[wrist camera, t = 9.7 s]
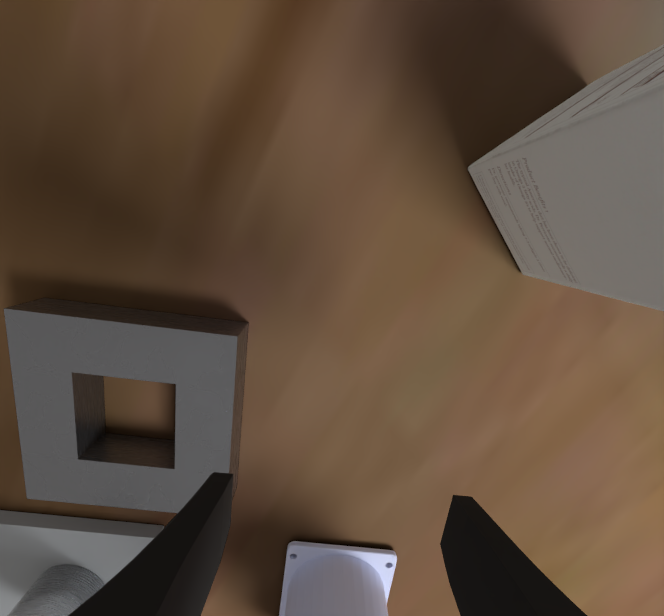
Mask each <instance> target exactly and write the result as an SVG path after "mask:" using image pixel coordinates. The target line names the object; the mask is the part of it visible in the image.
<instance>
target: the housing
mask: <svg viewBox="0 0 664 616" xmlns="http://www.w3.org/2000/svg"><path fill="white" fill-rule="evenodd" d="M4 314H5V322H6V330H7V338H8V347H9V355H10V363H11V371H12V379H13V388H14V396H15V404H16V412H17V420H18V429H19V437H20V445H21V453H22V462H23V470H24V478H25V486H26V494H27V499H36V500H46V501H57V502H67V503H78V504H88V505H98V506H109V507H119V508H130V509H140V510H151V511H161V512H171V513H178V512H179V511H180V510H181V509H182V508H183V507H184V506H185V505H186V504H187V502H188V501H189V500H190V499H191V498H192V497H193V496H194V494H195V493H196V492H197V491H198V490H199V488H200V487H201V486H202V485H203V484H204V482H205V481H206V480H207V479H208V477H209V476H210V475H211V474H212V473H214V472H219V473H230V474H233V488H232V500H233V497H234V494H235V491H236V488H237V479H238V465H239V451H240V437H241V423H242V409H243V395H244V381H245V367H246V353H247V339H248V325H249V323H248V322H240V321H232V320H223V319H215V318H207V317H199V316H190V315H182V314H174V313H166V312H157V311H149V310H141V309H133V308H125V307H116V306H108V305H100V304H92V303H83V302H75V301H67V300H59V299H50V298H41V299H38V300H34V301H30V302H26V303H23V304H19V305H15V306H12V307H8V308H4ZM103 376H109V377H118V378H127V379H136V380H144V381H153V382H162V383H171V384H176V412H175V440H167V439H157V438H148V437H138V436H129V435H119V434H110V433H106V428H105V407H104V385H103Z"/></svg>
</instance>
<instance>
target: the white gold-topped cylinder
mask: <svg viewBox="0 0 664 616" xmlns="http://www.w3.org/2000/svg"><path fill="white" fill-rule="evenodd" d="M104 585H105V584H104V582H103V581H102V580H101V579H100V578H99V577H98V576H97V575H96V574H95V573H93V572H92V571H90V570H88V569H86V568H83V567H80V566H76V565H69V564H63V565H56V566H53V567H50V568H48V569H47V570H45V571H44V572H43V573H42V574H41V575H40V576H39V577H38V579H37V580H36V581H35V582H34V584H33V585H32V586H31V587H30V588H29V590H28V591H27V592H26V593H25V595H24V596H23V597H22V598H21V599H20V601H19V602H18V603H17V604H16V606H15V607H14V608H13V609H12V610H11V612H10V613H9V614H8V615H7V616H68V615H69V614H70V613H72V612H73V611H74V610H75V609H76V608H78V607H79V606H80V605H81V604H83V603H84V602H85V601H86V600H87V599H89V598H90V597H91V596H92V595H93V594H95V593H96V592H97V591H98V590H99V589H100V588H102V587H103V586H104Z"/></svg>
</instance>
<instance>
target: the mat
mask: <svg viewBox="0 0 664 616" xmlns="http://www.w3.org/2000/svg"><path fill="white" fill-rule="evenodd" d="M163 529H164V526H163V525H153V524H142V523H131V522H121V521H110V520H100V519H89V518H78V517H68V516H57V515H47V514H36V513H25V512H15V511H4V510H0V616H7V615H8V614H9V613H10V612H11V610H12V609H13V608H14V607H15V606H16V604H17V603H18V602H19V601H20V599H21V598H22V597H23V596H24V595H25V593H26V592H27V591H28V590H29V588H30V587H31V586H32V585H33V584H34V582H35V581H36V580H37V579H38V577H39V576H40V575H41V574H42V573H43V572H44V571H45V570H47V569H48V568H50V567H53V566H56V565H63V564H69V565H76V566H80V567H83V568H86V569H88V570H90V571H92V572H93V573H95V574H96V575H97V576H98V577H99V578H100V579H101V580H102V581H103V582H104V584H106V583H107V582H108V581H110V580H111V579H112V578H113V577H114V576H115V575H116V574H117V573H118V572H120V571H121V570H122V569H123V568H124V567H125V566H126V565H127V564H128V563H129V562H130V561H131V560H133V559H134V558H135V557H136V556H137V555H138V554H139V553H140V552H141V551H142V550H143V549H144V548H145V547H146V546H147V545H148V544H149V543H150V542H151V541H152V540H153V539H154V538H155V537H156V536H157V535H158V534H159V533H160V532H161V531H162V530H163Z"/></svg>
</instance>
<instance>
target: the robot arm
mask: <svg viewBox="0 0 664 616" xmlns="http://www.w3.org/2000/svg"><path fill="white" fill-rule="evenodd" d="M232 488H233V474H230V473H219V472H214V473H212V474H211V475H210V476H209V477H208V479H207V480H206V481H205V482H204V484H203V485H202V486H201V487H200V488H199V490H198V491H197V492H196V493H195V494H194V496H193V497H192V498H191V499H190V500H189V501H188V502H187V504H186V505H185V506H184V507H183V508H182V509H181V510H180V511H179V512H178V514H177V515H176V516H175V517H174V518H173V519H172V520H171V521H170V522H169V523H168V524H167V525H166V527H165V528H164V529H163V530H162V531H161V532H160V533H159V534H158V535H157V536H156V537H155V538H154V539H153V540H152V541H151V542H150V543H149V544H148V545H147V546H146V547H145V548H144V549H143V550H142V551H141V552H140V553H139V554H138V555H137V556H136V557H135V558H134V559H133V560H131V561H130V562H129V563H128V564H127V565H126V566H125V567H124V568H123V569H122V570H121V571H120V572H118V573H117V574H116V575H115V576H114V577H113V578H112V579H111V580H110V581H108V582H107V583H106V584H105V585H104V586H103V587H102V588H100V589H99V590H98V591H97V592H96V593H95V594H93V595H92V596H91V597H90V598H89V599H87V600H86V601H85V602H84V603H83V604H81V605H80V606H79V607H78V608H76V609H75V610H74V611H73V612H72V613H70V614H69V615H68V616H200V615H201V613H202V610H203V607H204V605H205V602H206V599H207V597H208V594H209V591H210V589H211V586H212V583H213V581H214V578H215V575H216V572H217V570H218V567H219V564H220V561H221V558H222V554H223V550H224V547H225V543H226V539H227V536H228V532H229V528H230V522H231V505H232ZM440 545H441V549H442V554H443V558H444V563H445V567H446V571H447V575H448V579H449V583H450V586H451V589H452V592H453V595H454V597H455V600H456V603H457V606H458V609H459V612H460V615H461V616H587V615H586V614H585V613H584V612H583V611H581V610H580V609H579V608H578V607H577V606H576V605H575V604H574V603H573V602H572V601H571V600H570V599H569V598H568V597H567V596H566V595H565V594H564V593H563V592H562V591H561V590H559V589H558V588H557V587H556V586H555V585H554V584H553V583H552V582H551V581H550V580H549V579H548V578H547V577H546V576H545V575H544V574H543V573H542V572H541V571H540V570H539V569H538V568H537V567H536V566H535V565H534V564H533V562H532V561H531V560H530V559H529V558H528V557H527V556H526V555H525V554H524V553H523V552H522V551H521V550H520V549H519V548H518V547H517V546H516V545H515V543H514V542H513V541H512V540H511V539H510V538H509V537H508V536H507V535H506V534H505V533H504V532H503V530H502V529H501V528H500V527H499V526H498V525H497V524H496V523H495V522H494V521H493V519H492V518H491V517H490V516H489V515H488V514H487V513H486V512H485V511H484V510H483V509H482V507H481V506H480V505H479V504H478V503H477V502H476V501H475V500H474V499H473V498H472V497H468V496H458V495H453V498H452V502H451V505H450V509H449V513H448V517H447V520H446V524H445V528H444V532H443V536H442V539H441V543H440ZM396 562H397V556H396V553H395V552H394V551H392V550H385V549H374V548H364V547H353V546H342V545H332V544H321V543H311V542H300V541H292V542H290V543H289V544H288V548H287V556H286V564H285V572H284V580H283V588H282V596H281V604H280V612H279V616H388V611H387V600H388V596H389V592H390V587H391V583H392V579H393V575H394V570H395V566H396Z"/></svg>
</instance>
